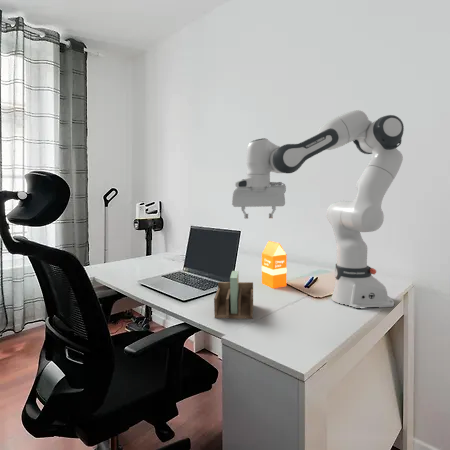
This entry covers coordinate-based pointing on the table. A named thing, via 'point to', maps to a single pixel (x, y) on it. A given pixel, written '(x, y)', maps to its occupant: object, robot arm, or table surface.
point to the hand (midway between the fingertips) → (258, 218)
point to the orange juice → (274, 265)
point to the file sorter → (224, 302)
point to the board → (234, 291)
